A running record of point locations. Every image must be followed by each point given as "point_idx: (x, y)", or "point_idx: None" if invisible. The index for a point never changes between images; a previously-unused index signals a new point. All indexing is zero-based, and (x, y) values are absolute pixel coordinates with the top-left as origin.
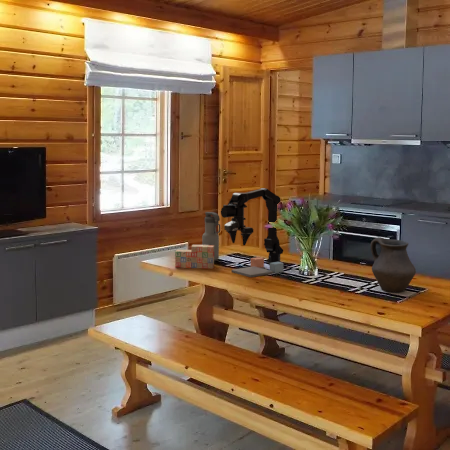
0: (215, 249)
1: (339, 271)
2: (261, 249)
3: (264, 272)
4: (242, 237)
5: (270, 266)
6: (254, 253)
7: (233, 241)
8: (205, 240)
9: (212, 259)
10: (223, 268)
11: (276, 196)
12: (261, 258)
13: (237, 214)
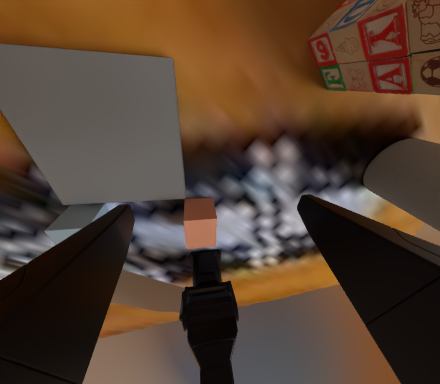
0: (409, 186)
1: None
2: (317, 286)
3: (40, 162)
4: (4, 318)
5: (88, 218)
6: (310, 269)
7: (311, 210)
8: None
9: (351, 21)
10: (264, 92)
11: None
12: (190, 243)
13: None
